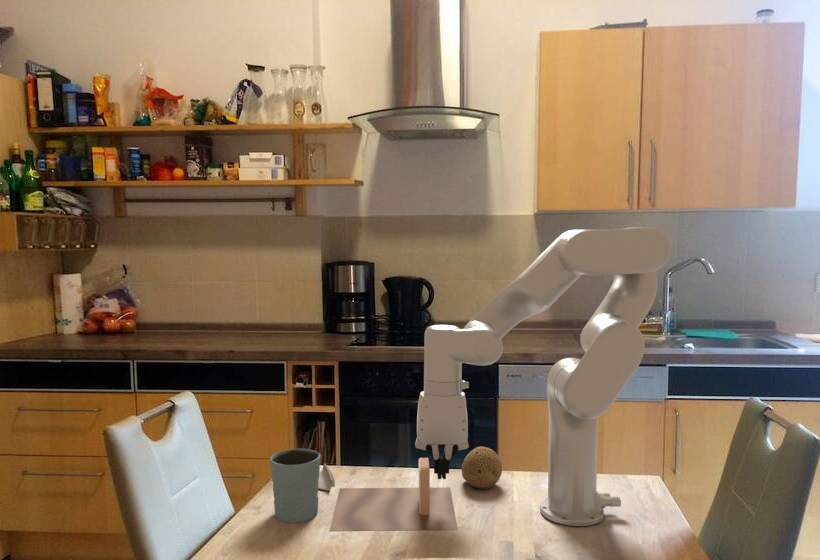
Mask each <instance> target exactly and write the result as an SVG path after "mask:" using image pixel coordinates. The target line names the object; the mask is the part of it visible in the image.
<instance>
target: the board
mask: <svg viewBox="0 0 820 560" xmlns="http://www.w3.org/2000/svg"><path fill="white" fill-rule="evenodd" d="M458 530H459V529H458V524H457V518H456V512H455V507H454V502H453V497H452V491H451V487H450V486H449V487H430V515H421V514H420V513H419V487H352V488H351V487H346V488H345V487H341V488H339V491H338V495H337V499H336V503H335V507H334V512H333V515H332V519H331V524H330V526H329V532H376V531H377V532H380V531H381V532H384V531H385V532H386V531H387V532H388V531H389V532H395V531H398V532H399V531H400V532H401V531H405V532H406V531H410V532H411V531H458Z"/></svg>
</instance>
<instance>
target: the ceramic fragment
mask: <svg viewBox="0 0 820 560" xmlns="http://www.w3.org/2000/svg"><path fill="white" fill-rule="evenodd" d="M335 486H336V480H335V477H334V475H333V472H332V470H330V468H329V466H328V465H327V464H326V463H323V465H322V470H320V472H319V480H318V488H319V489H318V491H324V492H328V493H330V492H331V490H332V488H335Z"/></svg>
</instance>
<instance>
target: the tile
mask: <svg viewBox="0 0 820 560" xmlns="http://www.w3.org/2000/svg"><path fill="white" fill-rule="evenodd" d="M430 470H431V469H430V462H429V457H419V458H418V488H419V513H420V514H421V515H430V488H431V487H430V484H431V483H430V479H431V477H430V475H431V473H430V472H431V471H430Z"/></svg>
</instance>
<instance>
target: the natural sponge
mask: <svg viewBox="0 0 820 560" xmlns="http://www.w3.org/2000/svg"><path fill="white" fill-rule="evenodd" d="M502 473H503V463H502V459H501V458H500V456H499V454H498V453H497V452H496V451H494V449H491V448H490V447H487V446H478V447H474V448H473V449H472V450H470V451H469V452H468V454H467V455H466V456H465V458H464V460H463V462H462V464H461V477H462V478H463V480H464V481H466V483H468V484H469V485H470V486H472V487H473V488H475V489H480V490H486V489H491V488H493V487H494V486H495V485H496V484H497V483H498V482H499V480H500V478H501V476H502Z"/></svg>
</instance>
